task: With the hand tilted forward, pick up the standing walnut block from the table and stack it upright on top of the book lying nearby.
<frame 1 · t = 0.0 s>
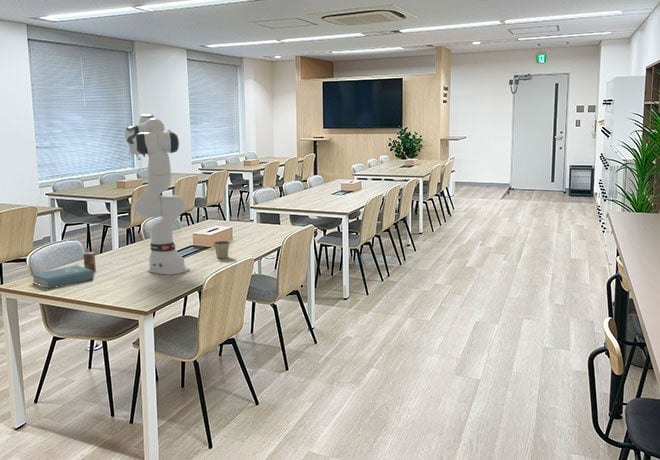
hand: (147, 159, 361), 54 cm above the table, tool tilted 30°, fingers open, 8 cm apart
flower pot: (222, 257, 345), on the table
walnut block: (90, 271, 313), on the table
book: (63, 282, 295), on the table
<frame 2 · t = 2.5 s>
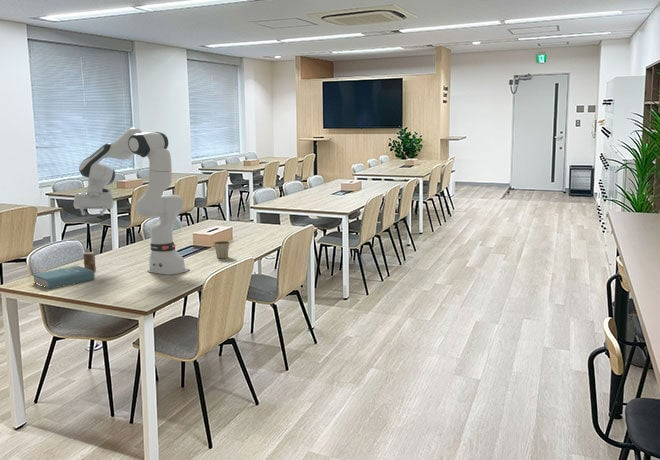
hand: (92, 214, 322), 28 cm above the table, tool tilted 40°, fingers open, 8 cm apart
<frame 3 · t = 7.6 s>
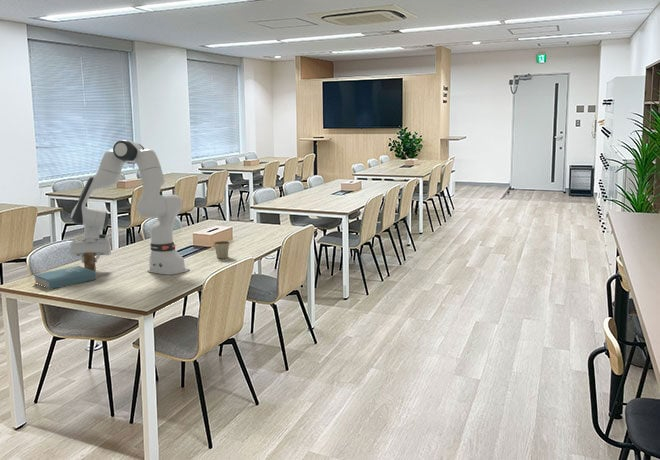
hand: (89, 261, 312), 5 cm above the table, tool tilted 45°, fingers closed on walnut block, 4 cm apart
walnut block: (90, 271, 313), on the table, touching gripper
book: (65, 283, 294), on the table
everything else where it was.
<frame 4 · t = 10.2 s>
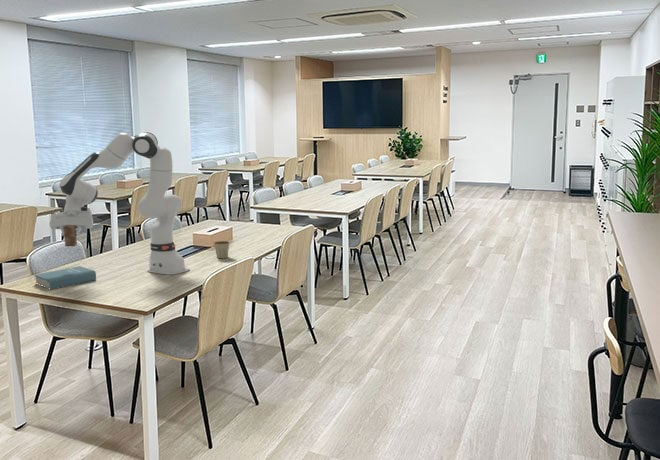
hand: (69, 235, 298), 22 cm above the table, tool tilted 45°, fingers closed on walnut block, 4 cm apart
walnut block: (71, 245, 300), point 16 cm above the table, touching gripper
when the fingers open (11 cm above the table, at t = 13.0 s): walnut block drops 2 cm, resting on book.
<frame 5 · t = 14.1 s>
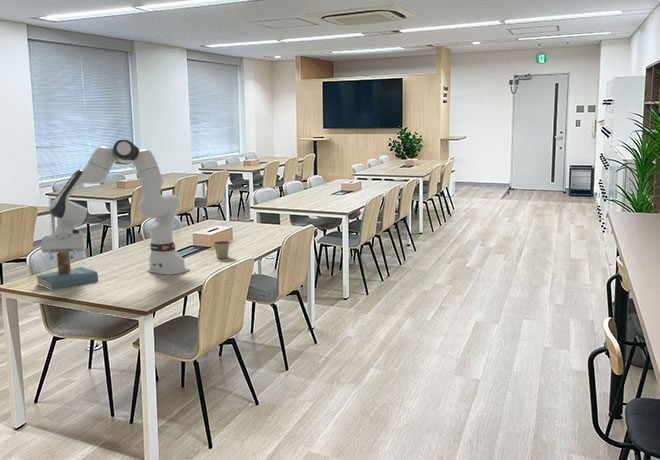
hand: (61, 258, 293), 11 cm above the table, tool tilted 45°, fingers open, 8 cm apart
walnut block: (64, 272, 293), point 4 cm above the table, touching book
book: (68, 284, 293), on the table, touching walnut block
everything else where it was.
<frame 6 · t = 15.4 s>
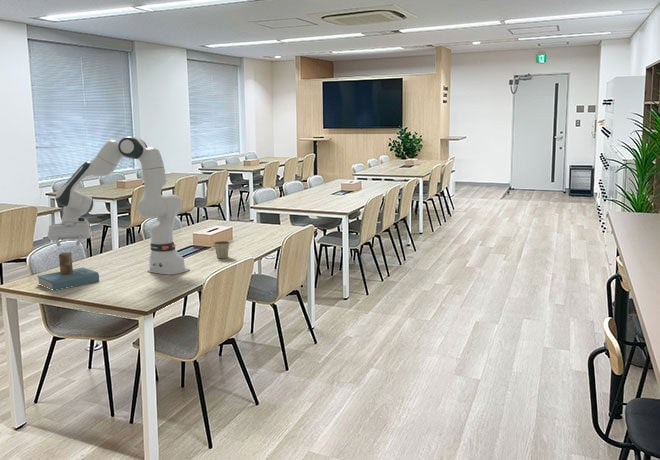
hand: (68, 245, 304), 15 cm above the table, tool tilted 45°, fingers open, 8 cm apart
walnut block: (66, 273, 292), point 4 cm above the table, touching book
book: (69, 284, 292), on the table, touching walnut block
everything else where it was.
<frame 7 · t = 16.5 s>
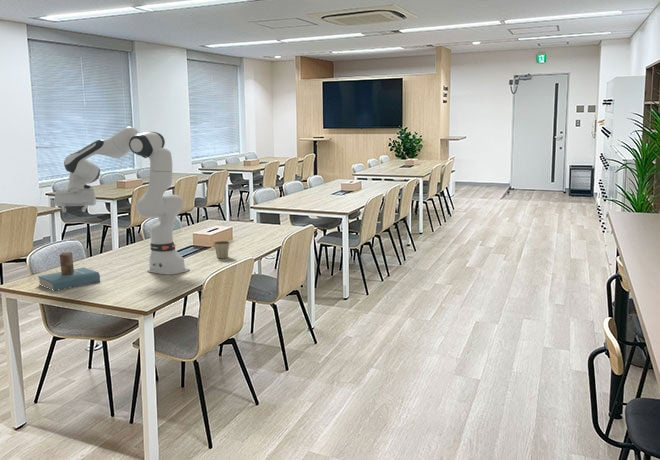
hand: (73, 211, 310), 31 cm above the table, tool tilted 45°, fingers open, 8 cm apart
walnut block: (67, 273, 291), point 4 cm above the table, touching book
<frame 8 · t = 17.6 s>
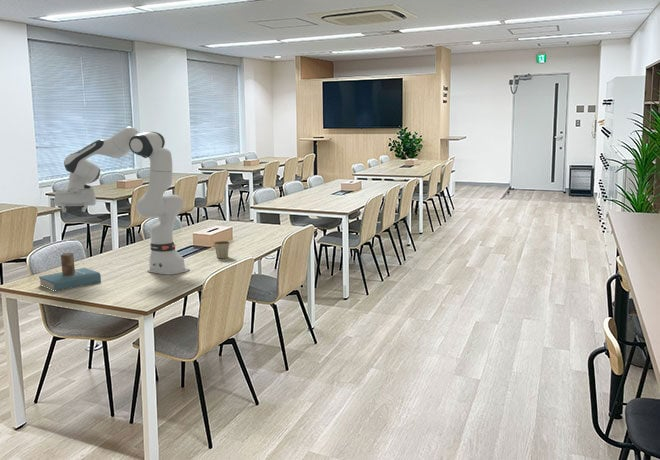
hand: (73, 211, 310), 31 cm above the table, tool tilted 45°, fingers open, 8 cm apart
walnut block: (68, 274, 291), point 4 cm above the table
book: (70, 285, 291), on the table
everything else where it was.
at the end: walnut block inside the target area on the book (1.1 cm from its centre), point 5.2 cm above the book's base; walnut block tilted 0°; the gripper is holding nothing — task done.
